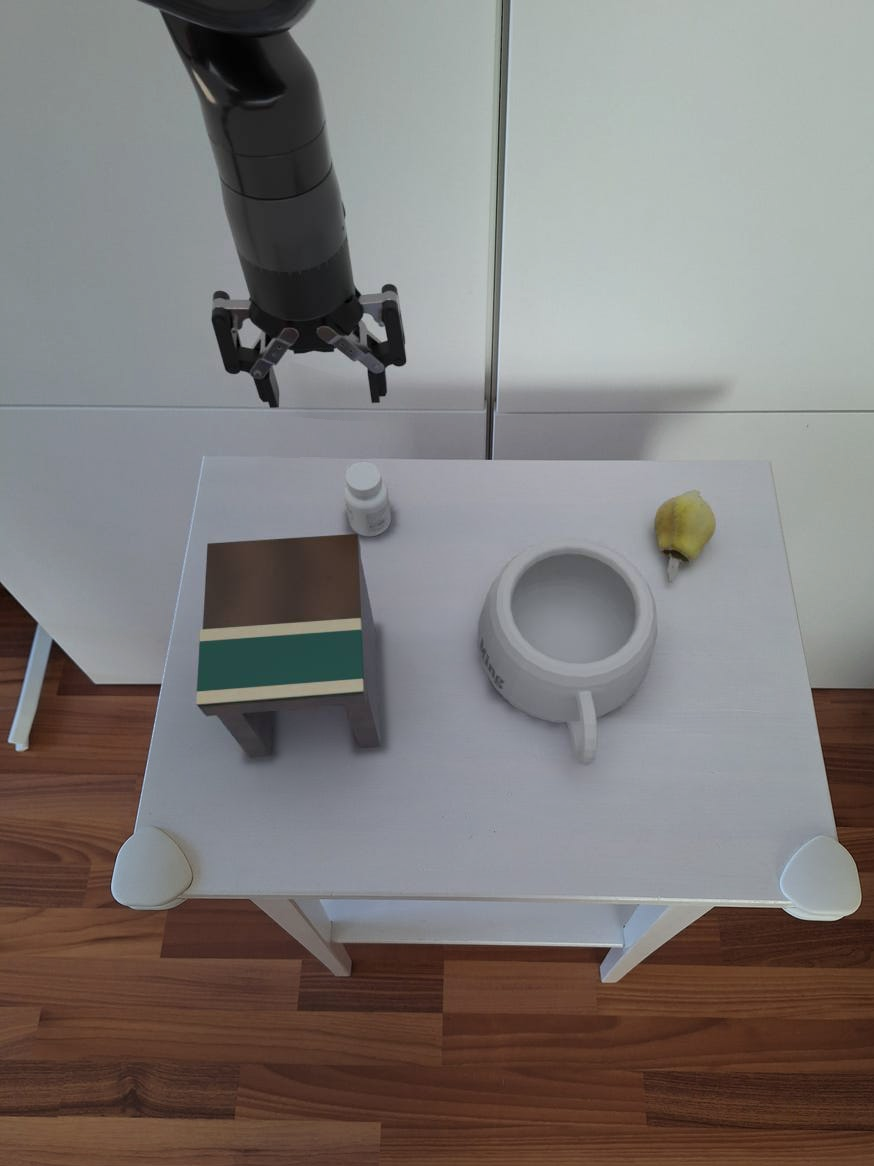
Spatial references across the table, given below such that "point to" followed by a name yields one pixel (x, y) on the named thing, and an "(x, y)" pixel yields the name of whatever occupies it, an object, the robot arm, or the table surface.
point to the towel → (280, 662)
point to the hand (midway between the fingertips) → (325, 397)
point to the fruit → (683, 528)
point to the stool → (292, 619)
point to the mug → (568, 634)
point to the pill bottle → (367, 499)
